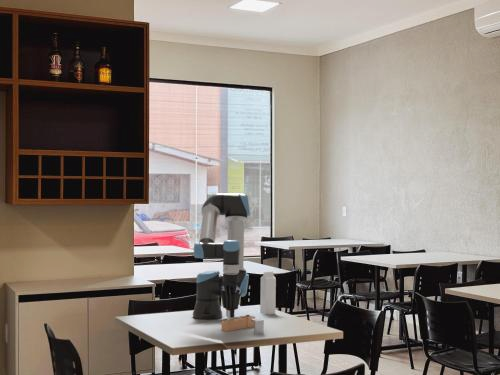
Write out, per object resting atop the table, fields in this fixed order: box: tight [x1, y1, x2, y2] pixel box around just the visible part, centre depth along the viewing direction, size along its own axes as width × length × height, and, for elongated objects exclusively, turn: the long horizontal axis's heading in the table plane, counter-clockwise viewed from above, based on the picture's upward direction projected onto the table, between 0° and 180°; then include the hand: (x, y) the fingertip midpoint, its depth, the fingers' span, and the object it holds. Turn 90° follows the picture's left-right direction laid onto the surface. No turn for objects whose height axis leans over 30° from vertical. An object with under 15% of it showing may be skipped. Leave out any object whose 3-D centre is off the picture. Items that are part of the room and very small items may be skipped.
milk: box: [259, 271, 277, 315], centre depth 370 cm, size 6×6×22 cm
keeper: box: [251, 317, 265, 335], centre depth 315 cm, size 5×5×6 cm
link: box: [221, 314, 256, 332], centre depth 324 cm, size 18×5×4 cm, turn 138°
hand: (230, 324), depth 325 cm, fingers closed
